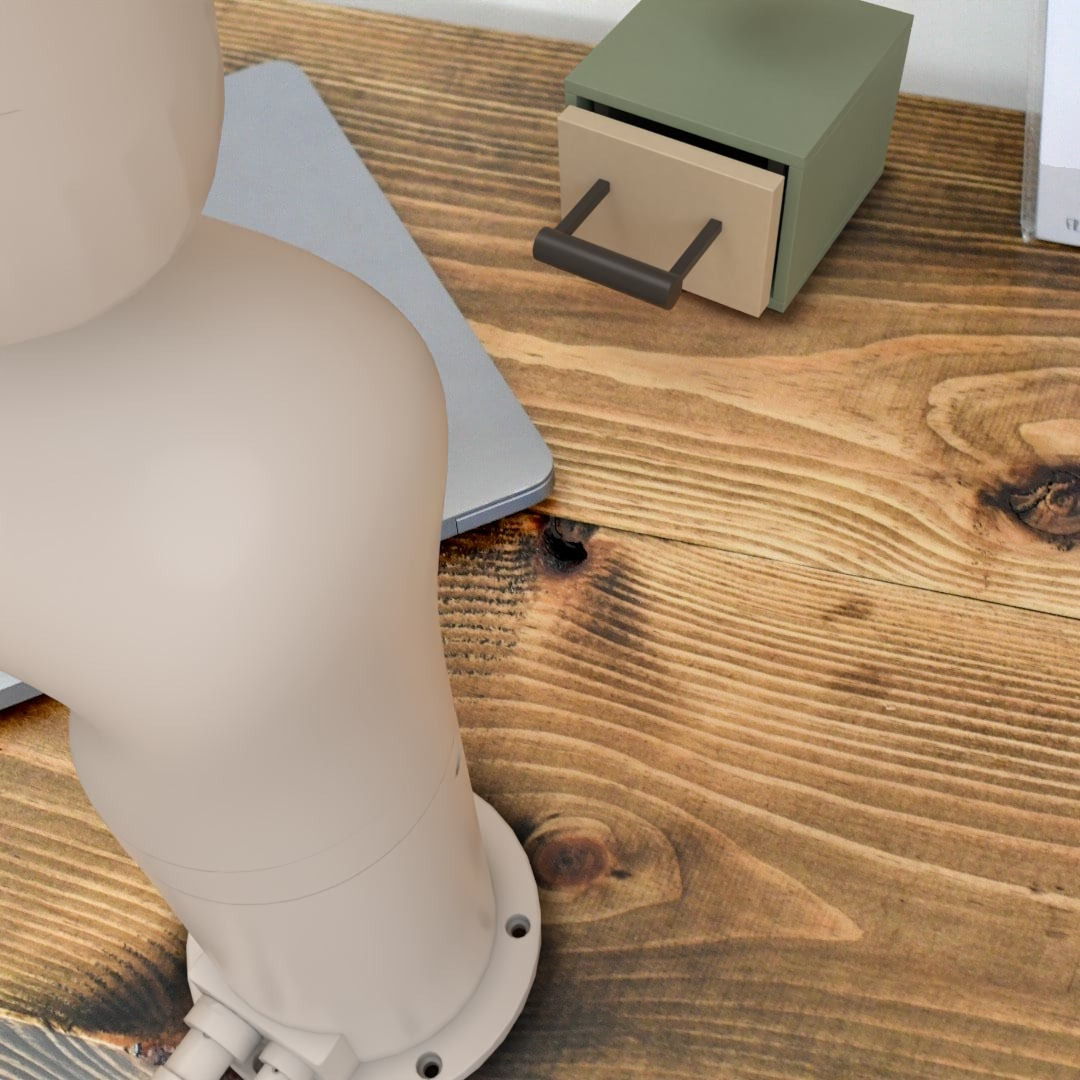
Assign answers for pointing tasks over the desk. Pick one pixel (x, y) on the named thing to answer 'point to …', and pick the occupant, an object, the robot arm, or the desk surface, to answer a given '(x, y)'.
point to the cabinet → (766, 97)
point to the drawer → (664, 211)
